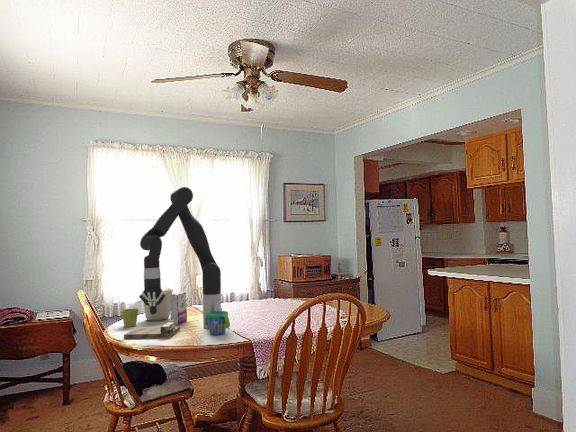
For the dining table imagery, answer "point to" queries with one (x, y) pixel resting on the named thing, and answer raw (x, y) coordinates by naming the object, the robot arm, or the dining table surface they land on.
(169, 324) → the folding leg
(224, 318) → the snack cup
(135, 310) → the plant pot
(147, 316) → the canister
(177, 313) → the candy bar box
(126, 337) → the walnut board
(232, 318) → the dining table surface
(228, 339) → the dining table surface
